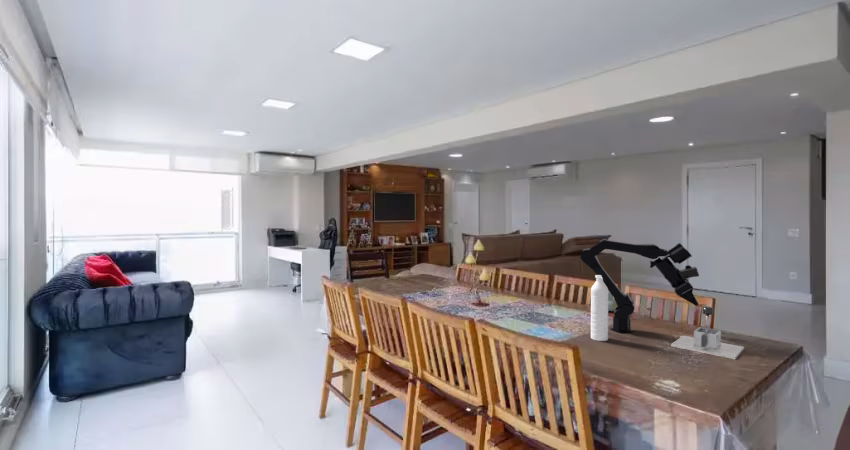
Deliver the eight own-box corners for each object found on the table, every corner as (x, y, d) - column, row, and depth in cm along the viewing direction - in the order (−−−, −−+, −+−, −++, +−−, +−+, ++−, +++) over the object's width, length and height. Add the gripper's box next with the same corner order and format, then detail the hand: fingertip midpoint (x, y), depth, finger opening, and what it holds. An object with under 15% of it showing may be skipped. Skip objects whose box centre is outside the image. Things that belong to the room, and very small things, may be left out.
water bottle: (609, 341, 168) (609, 278, 167) (591, 340, 170) (591, 278, 169) (606, 335, 176) (606, 275, 175) (589, 334, 178) (589, 274, 177)
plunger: (697, 335, 160) (697, 307, 159) (701, 332, 164) (701, 305, 163) (714, 338, 156) (714, 309, 155) (717, 335, 160) (718, 307, 159)
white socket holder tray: (671, 346, 162) (671, 329, 162) (683, 337, 172) (683, 322, 172) (735, 359, 148) (735, 341, 147) (744, 348, 158) (744, 332, 158)
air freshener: (604, 307, 225) (604, 288, 224) (619, 309, 219) (619, 290, 218) (593, 310, 218) (593, 291, 217) (609, 313, 212) (609, 293, 211)
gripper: (690, 262, 163) (719, 296, 159) (684, 256, 179) (711, 287, 176) (663, 278, 167) (691, 312, 163) (660, 271, 184) (685, 301, 180)
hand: (695, 302), depth 170 cm, fingers open, 9 cm apart
